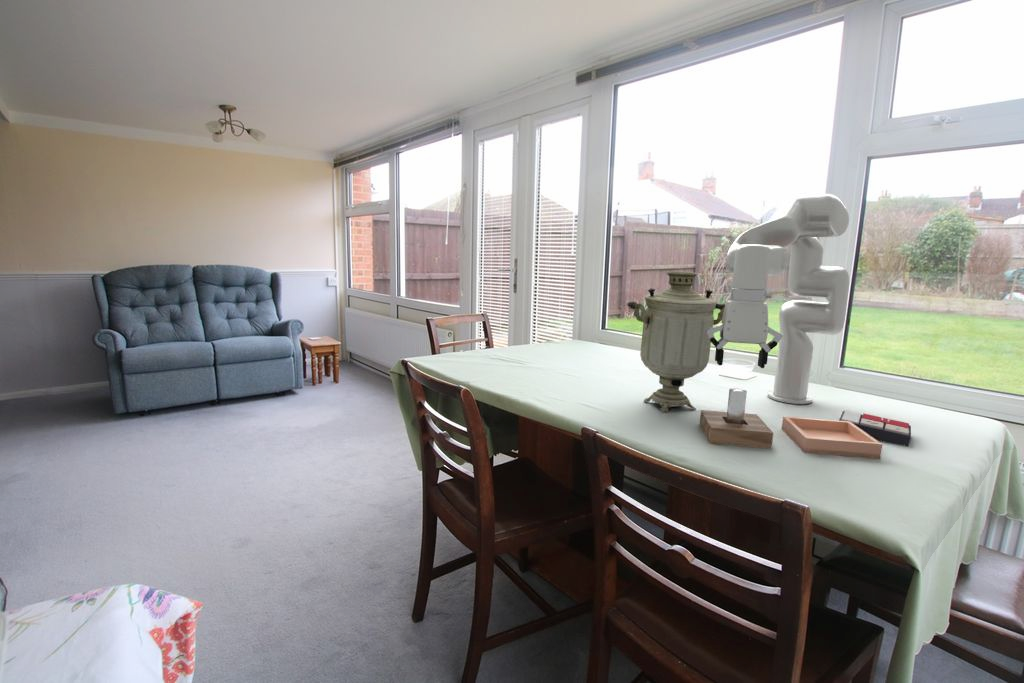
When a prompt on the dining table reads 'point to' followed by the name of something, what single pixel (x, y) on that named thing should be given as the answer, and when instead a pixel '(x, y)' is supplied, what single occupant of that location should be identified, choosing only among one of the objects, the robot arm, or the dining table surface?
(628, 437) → the dining table surface
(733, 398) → the pin
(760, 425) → the wooden square hole block
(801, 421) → the tray
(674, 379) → the samovar
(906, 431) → the calculator
